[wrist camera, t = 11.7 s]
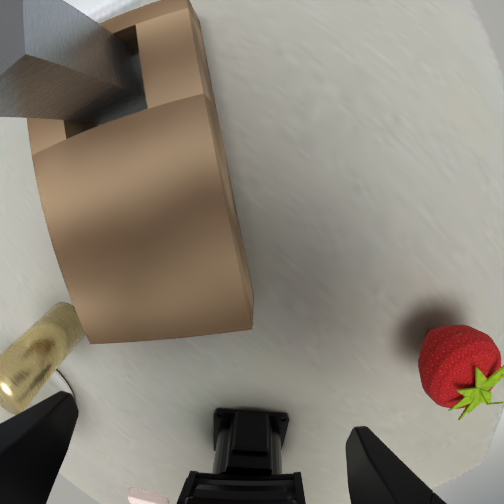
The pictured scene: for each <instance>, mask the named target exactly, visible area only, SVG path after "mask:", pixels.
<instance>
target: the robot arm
mask: <svg viewBox="0 0 504 504" xmlns="http://www.w3.org/2000/svg"><path fill="white" fill-rule="evenodd" d="M77 418H78V408H77V405H76V403H75V400H74V397H73V395H72V394H71V393H68V392H65V391H59V392H57V393H55V394H53V395H52V396H50V397H48V398H46V399H44V400H43V401H41V402H39V403H37V404H35V405H33V406H32V407H30V408H28V409H26V410H24V411H22V412H21V413H19V414H17V415H15V416H13V417H11V418H10V419H8V420H6V421H4V422H2V423H0V504H46V502H47V500H48V497H49V494H50V492H51V489H52V486H53V484H54V482H55V479H56V477H57V474H58V472H59V469H60V467H61V465H62V462H63V460H64V458H65V455H66V453H67V450H68V447H69V444H70V440H71V437H72V434H73V431H74V427H75V424H76V421H77ZM282 418H284V419H282ZM288 422H289V415H288V414H286V413H267V412H250V411H238V410H227V409H216V410H215V411H214V451H215V458H214V465H213V472H212V473H199V472H197V471H190V473H189V476H188V478H186V481H185V483H184V486H183V488H182V491H181V494H180V496H179V499H178V501H177V504H306V503H305V497H304V490H303V484H302V477H301V472H294V473H293V474H282V458H281V449H282V446H283V442H284V438H285V434H286V430H287V426H288ZM346 460H347V475H348V488H349V494H350V499H351V504H447V503H445V502H444V501H443V500H442V499H441V498H440V497H439V496H438V495H437V494H435V493H433V491H432V490H431V489H430V488H429V487H428V486H427V485H426V484H425V483H424V482H423V481H422V480H421V479H420V478H419V477H417V476H416V475H415V474H414V473H413V472H412V471H411V470H410V469H409V468H408V467H407V466H406V465H405V464H404V463H403V462H402V461H401V460H400V459H399V458H398V457H397V456H396V455H395V454H394V453H393V452H392V451H391V450H390V449H389V448H388V447H387V446H386V445H385V444H384V443H383V442H382V441H381V440H380V439H379V438H378V437H377V436H376V435H375V434H374V433H373V432H372V431H371V430H370V429H369V428H368V427H366V426H358V427H354V428H353V429H352V431H351V433H350V436H349V438H348V440H347V442H346Z"/></svg>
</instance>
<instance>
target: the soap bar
mask: <svg viewBox="0 0 504 504" xmlns="http://www.w3.org/2000/svg"><path fill="white" fill-rule="evenodd" d="M127 498H128V500H129V501H130V503H131V504H168V501H167V497H165V496H163V495H160V494H155V493H151V492H147V491H143V490H139V489H135V488H130V490H129V493H128V496H127Z"/></svg>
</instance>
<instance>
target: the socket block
mask: <svg viewBox="0 0 504 504" xmlns="http://www.w3.org/2000/svg"><path fill="white" fill-rule="evenodd" d="M100 25H101V26H103V27H104V28H106V29H107V30H109V31H110V32H111V33H113V34H114V35H116V36H117V37H118V38H120V39H121V40H123V41H124V42H125V43H127V44H128V45H130V46H131V47H132V48H134V49H135V50H136V51H138V52H139V55H140V62H141V69H142V76H143V82H144V89H145V95H146V101H147V107H148V109H145V110H142V111H139V112H136V113H133V114H130V115H127V116H124V117H121V118H119V119H116V120H113V121H110V122H108V123H105V124H102V125H100V126H97V124H96V123H87V122H77V121H67V120H55V119H42V118H27V124H28V132H29V140H30V147H31V153H32V160H33V165H34V171H35V176H36V181H37V186H38V191H39V195H40V200H41V204H42V208H43V212H44V216H45V220H46V224H47V227H48V231H49V235H50V238H51V241H52V245H53V248H54V251H55V255H56V258H57V261H58V264H59V267H60V270H61V273H62V276H63V278H64V281H65V284H66V287H67V289H68V292H69V295H70V297H71V300H72V303H73V305H74V308H75V310H76V313H77V315H78V317H79V320H80V322H81V324H82V327H83V329H84V331H85V334H86V336H87V338H88V340H89V342H90V344H104V343H122V342H137V341H150V340H162V339H173V338H183V337H193V336H202V335H211V334H219V333H227V332H235V331H243V330H250V329H252V325H253V306H254V296H253V291H252V286H251V281H250V276H249V271H248V266H247V262H246V257H245V252H244V247H243V242H242V237H241V232H240V227H239V222H238V217H237V212H236V207H235V202H234V197H233V192H232V187H231V182H230V177H229V172H228V167H227V162H226V157H225V152H224V147H223V142H222V137H221V131H220V126H219V121H218V116H217V111H216V106H215V101H214V96H213V90H212V85H211V80H210V75H209V70H208V64H207V59H206V54H205V49H204V43H203V38H202V33H201V27H200V22H199V19H198V17H197V15H196V13H195V11H194V9H193V7H192V5H191V3H190V1H189V0H160V1H157V2H154V3H151V4H148V5H145V6H143V7H140V8H137V9H134V10H132V11H129V12H126V13H124V14H121V15H119V16H116V17H114V18H112V19H109V20H107V21H105V22H102V23H100Z"/></svg>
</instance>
